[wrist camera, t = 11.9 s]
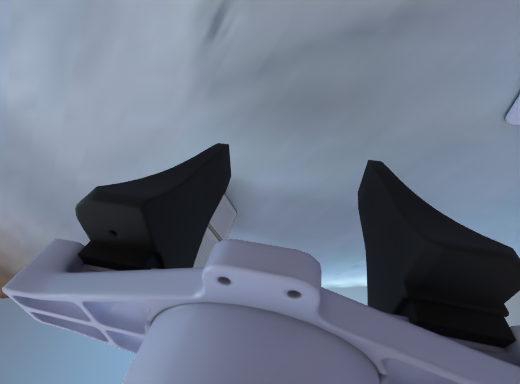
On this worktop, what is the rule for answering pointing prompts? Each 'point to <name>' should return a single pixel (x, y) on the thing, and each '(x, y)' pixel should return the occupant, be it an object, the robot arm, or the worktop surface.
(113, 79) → the worktop surface
